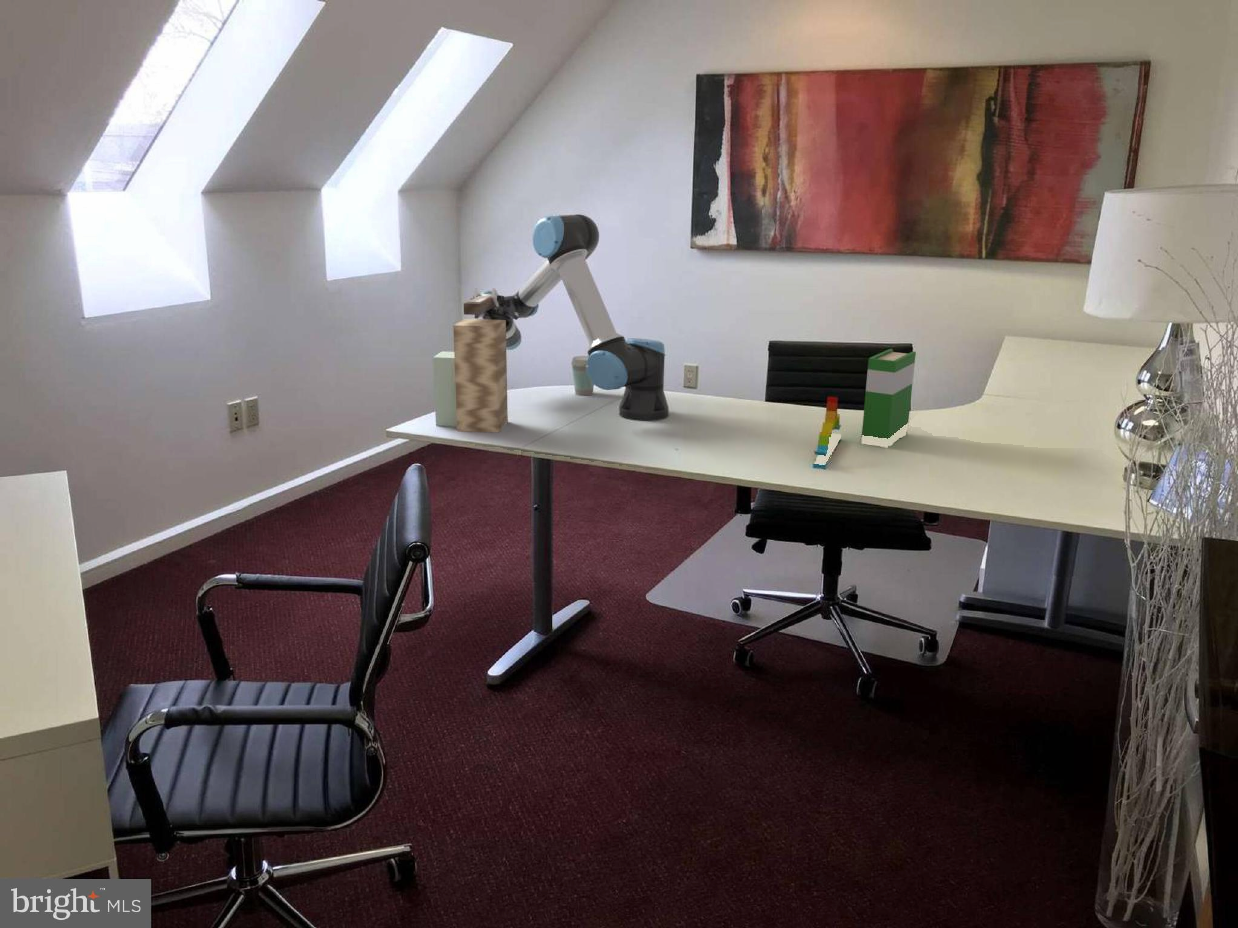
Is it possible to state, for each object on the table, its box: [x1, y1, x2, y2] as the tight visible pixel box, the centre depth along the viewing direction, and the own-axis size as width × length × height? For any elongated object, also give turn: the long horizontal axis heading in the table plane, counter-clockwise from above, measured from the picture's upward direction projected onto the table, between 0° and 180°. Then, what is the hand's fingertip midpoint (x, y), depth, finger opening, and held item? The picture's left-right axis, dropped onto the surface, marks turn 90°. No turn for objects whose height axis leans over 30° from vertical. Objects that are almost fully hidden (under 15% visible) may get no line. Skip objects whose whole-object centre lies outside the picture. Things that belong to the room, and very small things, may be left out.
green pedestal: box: [432, 351, 457, 427], centre depth 279 cm, size 7×9×20 cm
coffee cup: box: [571, 355, 595, 396], centre depth 318 cm, size 9×8×12 cm
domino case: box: [463, 293, 496, 316], centre depth 271 cm, size 4×22×3 cm, turn 174°
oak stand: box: [452, 318, 509, 433], centre depth 274 cm, size 12×12×30 cm
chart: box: [812, 396, 842, 470], centre depth 255 cm, size 30×3×15 cm, turn 160°
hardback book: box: [861, 348, 917, 439], centre depth 268 cm, size 18×7×24 cm, turn 147°
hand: (484, 292), depth 274 cm, fingers closed on domino case, 4 cm apart
